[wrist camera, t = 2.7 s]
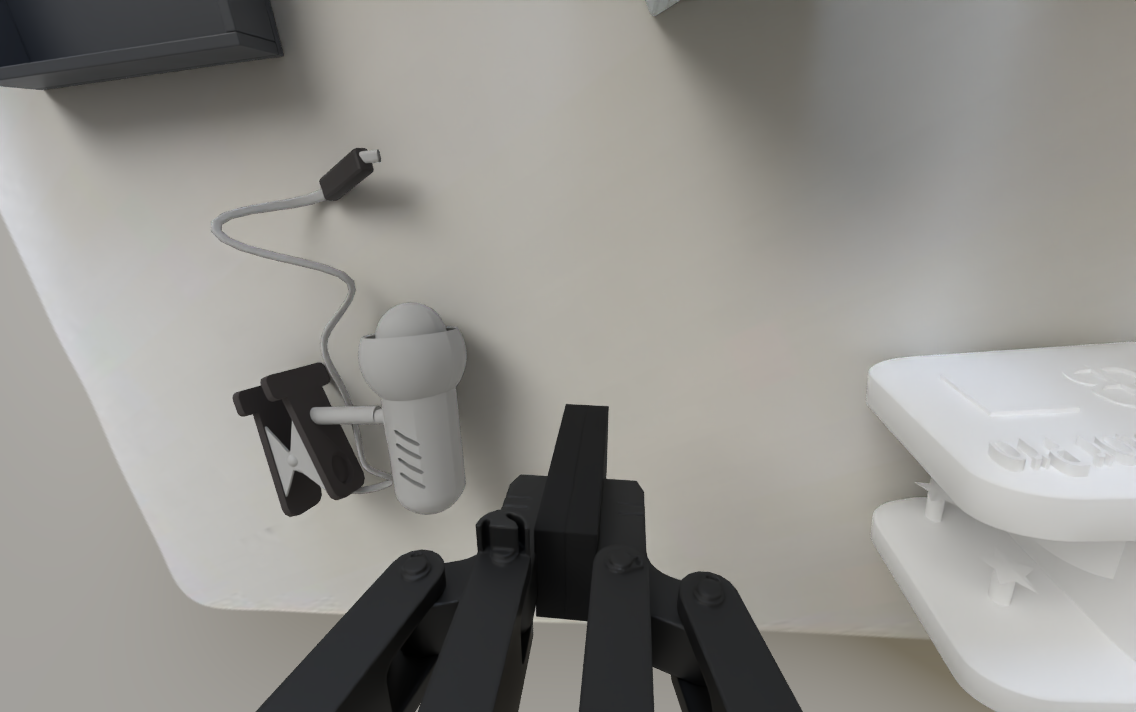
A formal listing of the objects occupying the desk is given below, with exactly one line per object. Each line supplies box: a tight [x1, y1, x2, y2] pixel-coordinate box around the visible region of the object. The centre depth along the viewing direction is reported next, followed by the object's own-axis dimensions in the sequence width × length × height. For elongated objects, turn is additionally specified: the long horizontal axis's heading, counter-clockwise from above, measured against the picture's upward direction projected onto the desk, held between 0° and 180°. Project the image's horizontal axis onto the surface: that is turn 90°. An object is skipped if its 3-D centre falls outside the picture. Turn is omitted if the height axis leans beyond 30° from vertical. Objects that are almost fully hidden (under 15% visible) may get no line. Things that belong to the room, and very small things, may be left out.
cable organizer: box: [866, 341, 1136, 712], centre depth 21 cm, size 15×11×12 cm
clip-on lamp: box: [211, 148, 467, 517], centre depth 26 cm, size 12×6×18 cm
